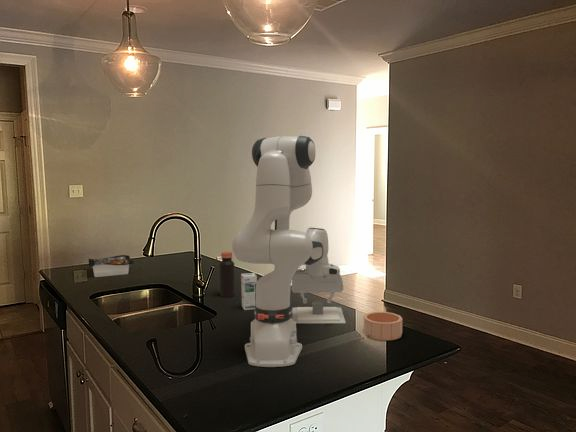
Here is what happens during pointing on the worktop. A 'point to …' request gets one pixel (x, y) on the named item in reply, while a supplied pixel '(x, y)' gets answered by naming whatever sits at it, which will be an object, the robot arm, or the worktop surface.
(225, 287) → the bottle
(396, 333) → the bowl
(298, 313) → the cover sheet
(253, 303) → the syrup box
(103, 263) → the food packaging
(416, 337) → the worktop surface
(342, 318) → the mat
